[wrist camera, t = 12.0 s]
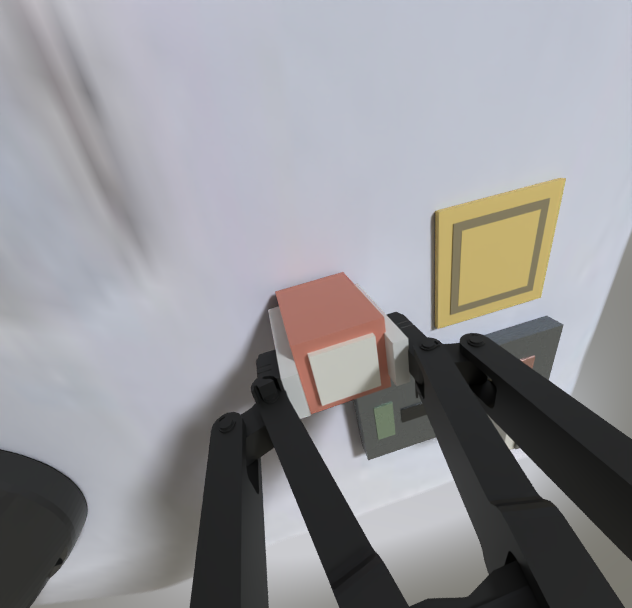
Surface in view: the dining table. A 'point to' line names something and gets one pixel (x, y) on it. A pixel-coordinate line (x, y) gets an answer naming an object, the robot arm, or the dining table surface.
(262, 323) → the dining table surface
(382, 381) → the cap
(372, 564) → the robot arm
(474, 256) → the pad
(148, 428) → the dining table surface
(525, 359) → the breaker panel
